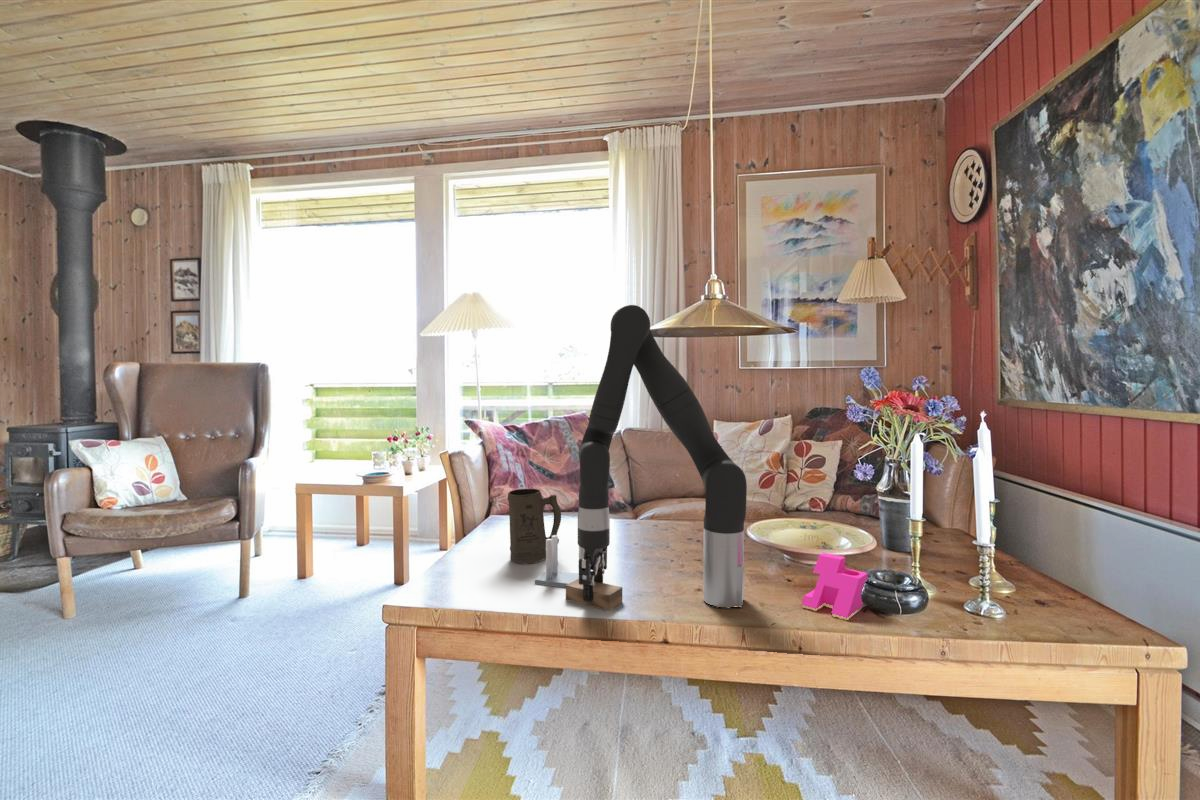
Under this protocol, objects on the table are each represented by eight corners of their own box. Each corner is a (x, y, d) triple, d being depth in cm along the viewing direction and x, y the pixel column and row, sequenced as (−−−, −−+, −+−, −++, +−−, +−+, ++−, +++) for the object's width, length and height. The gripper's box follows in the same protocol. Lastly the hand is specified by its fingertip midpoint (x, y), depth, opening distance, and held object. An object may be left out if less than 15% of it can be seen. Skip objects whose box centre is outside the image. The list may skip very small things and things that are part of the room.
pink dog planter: (823, 594, 139) (823, 552, 139) (867, 606, 132) (867, 562, 132) (801, 608, 131) (801, 563, 130) (846, 621, 124) (847, 574, 123)
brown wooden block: (622, 602, 134) (622, 587, 134) (609, 610, 129) (609, 595, 129) (580, 592, 141) (580, 577, 140) (565, 599, 135) (565, 585, 135)
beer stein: (509, 566, 160) (509, 495, 159) (505, 555, 170) (505, 488, 170) (563, 562, 164) (563, 492, 164) (556, 551, 174) (556, 486, 174)
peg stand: (600, 579, 149) (600, 537, 149) (590, 590, 142) (590, 546, 141) (547, 573, 154) (547, 533, 154) (534, 583, 146) (534, 540, 146)
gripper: (599, 534, 126) (598, 608, 127) (617, 519, 140) (617, 587, 141) (567, 531, 129) (567, 604, 129) (588, 517, 142) (588, 583, 143)
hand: (593, 595), depth 135 cm, fingers closed on brown wooden block, 7 cm apart
